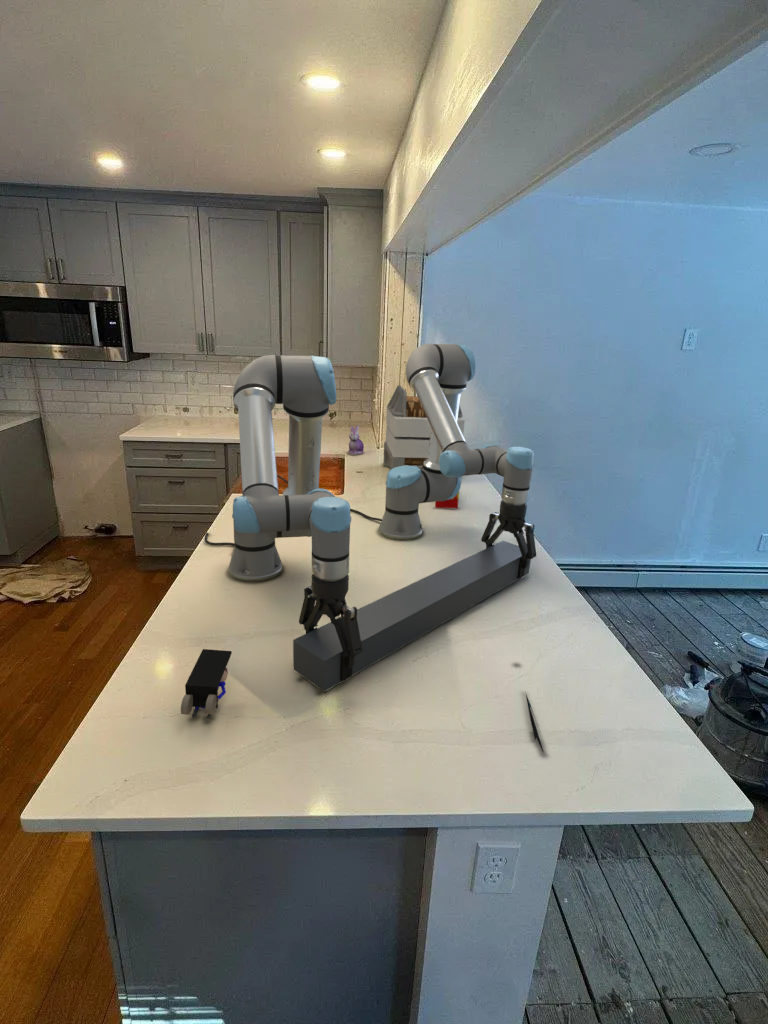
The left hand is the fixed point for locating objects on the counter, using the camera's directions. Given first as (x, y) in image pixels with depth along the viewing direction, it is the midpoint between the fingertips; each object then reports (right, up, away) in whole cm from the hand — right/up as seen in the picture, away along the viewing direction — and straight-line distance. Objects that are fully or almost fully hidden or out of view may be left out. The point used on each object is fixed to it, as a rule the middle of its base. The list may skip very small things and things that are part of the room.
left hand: (328, 666), depth 122 cm
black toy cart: (-23, -4, -9) cm, 25 cm away
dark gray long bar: (+24, +7, +25) cm, 35 cm away
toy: (+36, +39, +119) cm, 130 cm away
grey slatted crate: (+29, +52, +153) cm, 164 cm away
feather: (+41, -6, -6) cm, 42 cm away
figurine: (-3, +65, +185) cm, 196 cm away
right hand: (+48, +15, +49) cm, 70 cm away
